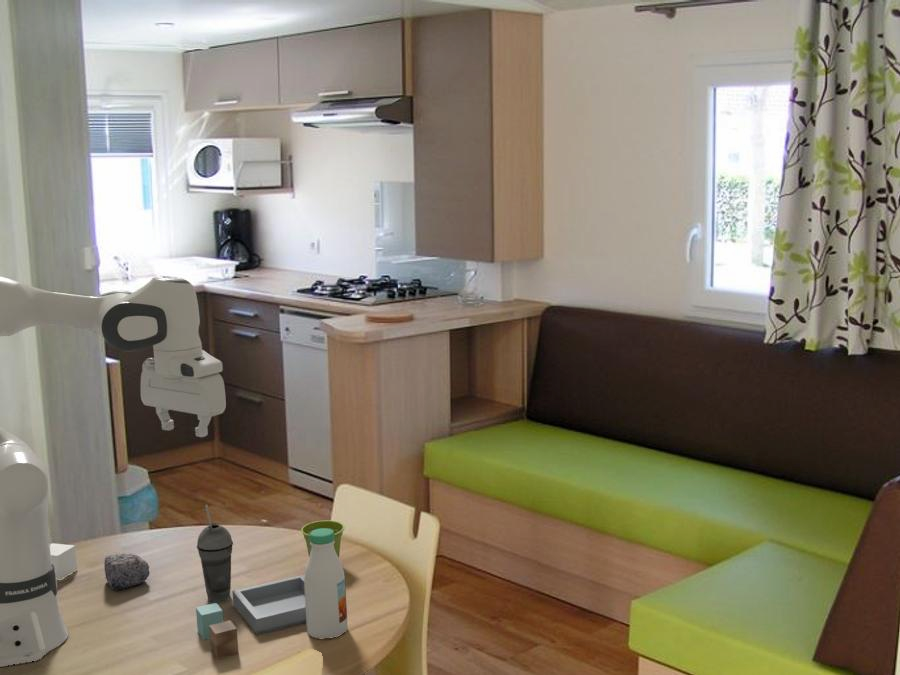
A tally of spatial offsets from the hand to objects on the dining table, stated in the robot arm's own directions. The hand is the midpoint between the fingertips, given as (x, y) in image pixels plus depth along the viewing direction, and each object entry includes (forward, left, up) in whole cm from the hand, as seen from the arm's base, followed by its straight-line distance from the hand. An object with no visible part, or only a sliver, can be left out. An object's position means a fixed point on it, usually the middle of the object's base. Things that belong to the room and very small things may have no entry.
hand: (184, 432), depth 207 cm
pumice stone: (-9, +25, -38) cm, 47 cm away
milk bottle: (+20, -18, -38) cm, 47 cm away
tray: (+15, -5, -38) cm, 41 cm away
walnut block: (0, -16, -38) cm, 41 cm away
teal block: (0, -7, -38) cm, 39 cm away
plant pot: (+31, +12, -38) cm, 51 cm away
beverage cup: (+6, +8, -38) cm, 39 cm away
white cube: (-21, +39, -38) cm, 58 cm away
